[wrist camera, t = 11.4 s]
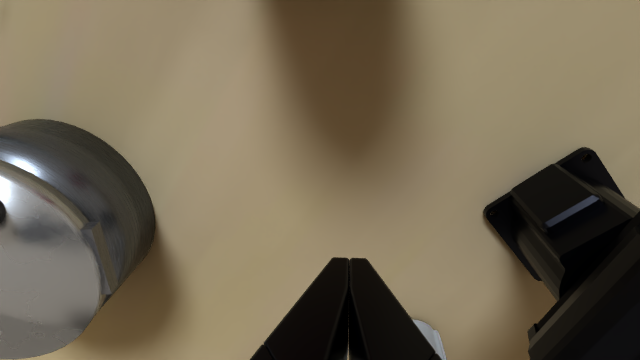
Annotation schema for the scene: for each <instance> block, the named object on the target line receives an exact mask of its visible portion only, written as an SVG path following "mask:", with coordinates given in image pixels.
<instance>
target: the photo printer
mask: <svg viewBox="0 0 640 360" xmlns="http://www.w3.org/2000/svg"><path fill="white" fill-rule="evenodd" d="M412 320H413V319H412ZM413 322H414V323H415V324H416V326H417V327H418V328H419V330H420V331H421V332H422V334H423V335H424V336H425V338H426V339H427V340H428V342H429V343H430V344H431V346H432V347H433V348H434V350H435V352H436V353H437V354H438V355H439V356H440V358H441V359H442V360H447V359H446V355H445V352H444V348H443V344H442V341H441V338H440V335H439V333H438V331H437V330H433V329H432V328H431V326H430V325H428V324H426V323H425V322H422V321H419V320H413Z"/></svg>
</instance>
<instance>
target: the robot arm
mask: <svg viewBox="0 0 640 360" xmlns="http://www.w3.org/2000/svg"><path fill="white" fill-rule="evenodd" d="M585 154H587V157H586V158H585V159H584V160H581V159H582V156H584V155H585ZM494 210H497V212H496V213H495V214H493V215H490V213H491V212H492V211H494ZM484 215H485V216H486V218H487V219H488V221H489V222H490V223H491V224H492V226H493V227H494V228H495V229H496V231H497V232H498V233H499V234H500V236H501V237H502V238H503V240H504V241H505V242H506V243H507V245H508V246H509V247H510V248H511V250H512V251H513V252H514V253H515V255H516V256H517V257H518V258H519V260H520V261H521V262H522V263H523V265H524V266H525V267H526V269H527V270H528V271H529V272H530V274H531V275H532V276H533V277H534V279H536V280H538V281H543V282H544V284H545V285H546V287H547V288H548V289H549V291H550V292H551V294H552V295H553V296H554V298H555V299H556V301H557V303H556V304H555V305H554V306H553V307H552V308H551V309H550V310H549V312H548V313H547V314H546V315H545V316H544V317H543V318H542V319H541V320H540V321H539V323H538V324H536V323H535V324H533V326H532V327H531V328H530V329H529V330H528V337H529V343H530V345H529V349H528V353H529V356H530V360H640V208H638V207H637V206H635V205H634V204H632V203H631V202H629V201H628V200H626V199H625V198H624V196H623V194H622V193H621V191H620V190H619V188H618V187H617V185H616V184H615V182H614V180H613V179H612V177H611V176H610V174H609V173H608V171H607V170H606V168H605V166H604V165H603V163H602V162H601V160H600V159H599V157H598V156H597V154H596V153H595V152H594V151H593V150H591V149H590V148H587V147H582V148H580V149H577V150H576V151H574V152H573V153H571V154H569V155H568V156H566V157H565V158H563V159H561V160H560V161H558V162H556V163H555V164H551V165H549V166H548V167H546V168H544V169H543V170H541V171H540V172H538V173H536V174H535V175H533V176H531V177H530V178H528V179H527V180H525V181H523V182H522V183H520V184H519V185H517V186H515V187H514V188H512V190H511V191H510V192H508V193H507V194H505V195H503V196H502V197H500V198H498V199H497V200H495V201H494V202H492V203H490V204H489V205H487V206H486V207H485V209H484ZM348 329H349V360H442V359H441V358H440V356H439V355H438V354H437V353H436V352H435V350H434V348H433V347H432V346H431V344H430V343H429V342H428V340H427V339H426V338H425V336H424V335H423V334H422V332H421V331H420V330H419V328H418V327H417V326H416V324H415V323H414V322H413V320H412V319H411V318H410V316H409V315H408V314H407V312H406V311H405V310H404V308H403V307H402V305H401V304H400V303H399V301H398V300H397V299H396V297H395V296H394V295H393V293H392V292H391V291H390V289H389V288H388V287H387V285H386V284H385V283H384V281H383V280H382V279H381V277H380V276H379V275H378V273H377V272H376V271H375V269H374V268H373V267H372V265H371V264H370V263H369V261H368V260H367V259H366V258H351V259H350V265H349V259H348V258H338V257H334V258H332V259H331V260H330V261H329V263H328V264H327V265H326V266H325V268H324V269H323V270H322V271H321V272H320V274H319V275H318V276H317V277H316V279H315V280H314V281H313V282H312V284H311V285H310V286H309V287H308V289H307V290H306V291H305V292H304V294H303V295H302V296H301V297H300V298H299V300H298V301H297V302H296V303H295V305H294V306H293V307H292V308H291V310H290V311H289V312H288V313H287V315H286V316H285V317H284V318H283V319H282V321H281V322H280V323H279V324H278V326H277V327H276V328H275V329H274V331H273V332H272V333H271V334H270V336H269V337H268V338H267V339H266V341H265V342H264V345H261V346H260V348H259V349H258V350H257V351H256V353H255V354H254V355H253V356H252V358H251V359H250V360H347V355H348Z"/></svg>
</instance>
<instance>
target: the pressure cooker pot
mask: <svg viewBox="0 0 640 360" xmlns="http://www.w3.org/2000/svg"><path fill="white" fill-rule="evenodd" d="M0 160H2V161H5V162H8V163H11V164H14V165H16V166H18V167H20V168H22V169H24V170H26V171H28V172H30V173H32V174H34V175H36V176H37V177H39V178H41V179H42V180H44V181H46V182H47V183H49V184H50V185H51V186H53V187H54V188H55V189H57V190H58V191H59V192H61V193H62V194H63V195H64V196H65V197H66V198H68V199H69V200H70V201H71V202H72V203H73V204H74V205H75V206H76V207H77V208H78V209H79V210H80V212H81V213H82V214H83V215H84V216H85V217H86V219H87V220H88V221H89V222H92V221H100V224H101V227H102V231H103V234H104V237H105V241H106V244H107V247H108V251H109V254H110V257H111V261H112V264H113V267H114V271H115V274H116V277H117V281H118V286H117V287H116V289H115V290H114V291H113V293H112V294H106V297H105V300H104V302H103V304H102V306H103V305H104V304H105V303H106V302H107V301H108V299H109V298H110V297H111V296H112V295H113V294H114V292H115V291H116V290H117V289H118V288H119V287H120V286H121V284H122V283H123V282H124V281H125V280H126V279H127V278H128V276H129V275H130V274H131V273H132V272H133V271H134V269H135V268H136V267H137V266H138V265H139V264H140V263H141V261H142V260H143V259H144V258H145V256H146V255H147V253H148V251H149V250H150V248H151V245H152V242H153V239H154V232H155V217H154V210H153V206H152V203H151V200H150V197H149V195H148V192H147V190H146V188H145V186H144V184H143V183H142V181H141V179H140V177H139V176H138V175H137V173H136V172H135V171H134V169H133V168H132V167H131V165H130V164H129V163H128V162H127V161H126V160H125V159H124V158H123V157H122V156H121V155H120V154H119V153H118V152H117V151H116V150H115V149H113V148H112V147H111V146H110V145H108V144H107V143H105V142H104V141H103V140H101V139H100V138H98V137H96V136H94V135H93V134H91V133H89V132H87V131H85V130H83V129H81V128H78V127H76V126H73V125H70V124H67V123H64V122H59V121H54V120H45V119H32V120H24V121H19V122H15V123H12V124H9V125H5V126H2V127H0ZM102 306H101V307H102ZM100 309H101V308H100ZM100 309H99V310H100Z"/></svg>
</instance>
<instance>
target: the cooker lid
mask: <svg viewBox="0 0 640 360" xmlns="http://www.w3.org/2000/svg"><path fill="white" fill-rule="evenodd" d="M117 286H118V281H117V277H116V274H115V271H114V267H113V264H112V261H111V257H110V254H109V251H108V247H107V244H106V241H105V237H104V234H103V231H102V227H101V224H100V221H92V222H89V221H88V220H87V219H86V217H85V216H84V215H83V214H82V213H81V212H80V210H79V209H78V208H77V207H76V206H75V205H74V204H73V203H72V202H71V201H70V200H69V199H68V198H66V197H65V196H64V195H63V194H62V193H61V192H59V191H58V190H57V189H55V188H54V187H53V186H51V185H50V184H49V183H47V182H46V181H44V180H42V179H41V178H39V177H37V176H36V175H34V174H32V173H30V172H28V171H26V170H24V169H22V168H20V167H18V166H16V165H14V164H11V163H8V162H5V161H2V160H0V359H21V358H30V357H36V356H41V355H44V354H47V353H51V352H54V351H56V350H58V349H60V348H62V347H64V346H66V345H67V344H69V343H71V342H72V341H74V340H75V339H76V338H77V337H78V336H79V335H80V334H81V333H82V332H83V331H84V330H85V328H86V327H87V326H88V324H89V323H90V322H91V320H92V319H93V318H94V316H95V315H96V313H97V312H98V311H99V309H100V308H101V306H102V304H103V302H104V300H105V297H106V294H112V293H113V291H114V290H115V289H116V287H117Z"/></svg>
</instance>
